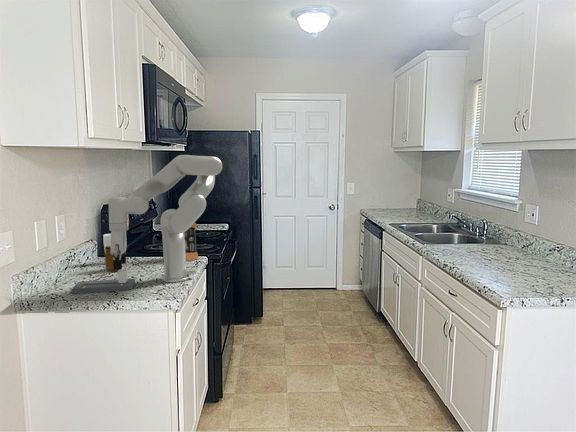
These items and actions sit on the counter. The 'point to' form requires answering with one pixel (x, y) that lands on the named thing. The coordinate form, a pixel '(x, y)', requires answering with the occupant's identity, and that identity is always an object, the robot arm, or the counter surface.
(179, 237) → the robot arm
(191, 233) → the whiskey bottle
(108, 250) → the condiment
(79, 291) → the fader panel
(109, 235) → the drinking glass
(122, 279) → the fader knob
